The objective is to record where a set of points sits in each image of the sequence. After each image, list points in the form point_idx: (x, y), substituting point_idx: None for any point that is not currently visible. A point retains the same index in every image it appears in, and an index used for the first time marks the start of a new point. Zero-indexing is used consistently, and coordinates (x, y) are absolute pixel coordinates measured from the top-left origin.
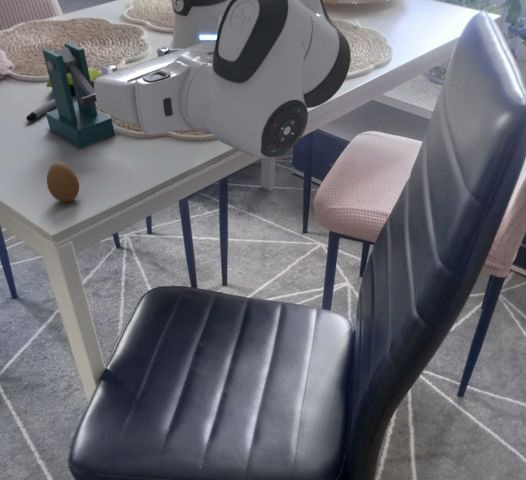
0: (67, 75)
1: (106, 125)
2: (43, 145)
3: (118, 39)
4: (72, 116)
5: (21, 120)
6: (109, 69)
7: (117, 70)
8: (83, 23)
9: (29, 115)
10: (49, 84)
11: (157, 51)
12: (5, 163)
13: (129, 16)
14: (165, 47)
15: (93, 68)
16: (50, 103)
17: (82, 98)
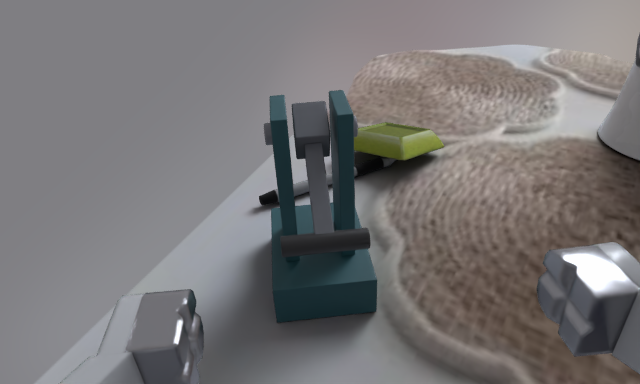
0: (376, 137)
1: (358, 291)
2: (226, 276)
3: (512, 90)
4: None
5: (256, 196)
6: (101, 359)
7: (182, 361)
8: (475, 60)
9: (264, 195)
10: None
11: (548, 258)
12: None
13: (547, 61)
14: (613, 255)
15: (433, 133)
16: None
17: (283, 241)
